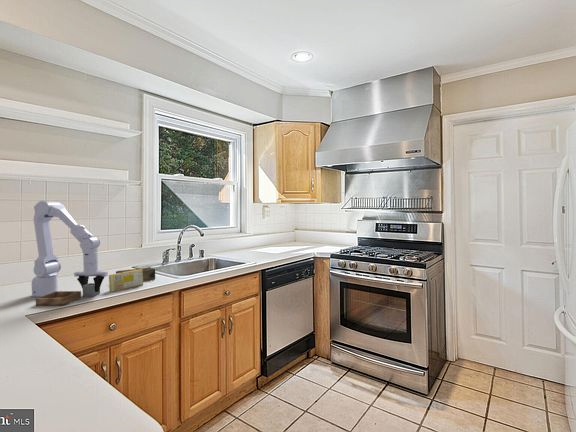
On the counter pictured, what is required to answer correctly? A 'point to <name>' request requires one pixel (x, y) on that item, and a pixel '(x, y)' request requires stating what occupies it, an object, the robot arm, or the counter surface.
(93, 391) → the counter surface
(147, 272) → the beverage carton
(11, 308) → the counter surface
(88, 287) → the slate crate
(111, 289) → the candy box
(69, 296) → the walnut crate
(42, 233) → the robot arm
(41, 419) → the counter surface
